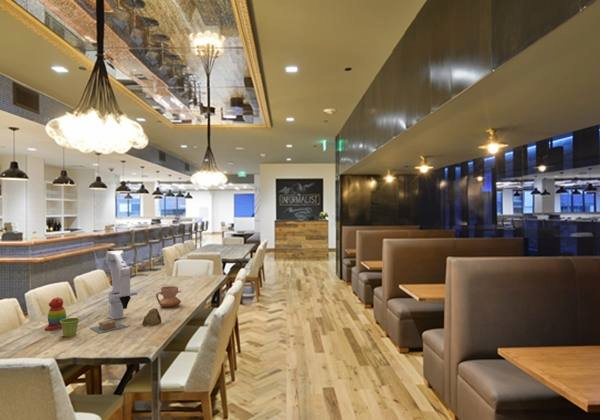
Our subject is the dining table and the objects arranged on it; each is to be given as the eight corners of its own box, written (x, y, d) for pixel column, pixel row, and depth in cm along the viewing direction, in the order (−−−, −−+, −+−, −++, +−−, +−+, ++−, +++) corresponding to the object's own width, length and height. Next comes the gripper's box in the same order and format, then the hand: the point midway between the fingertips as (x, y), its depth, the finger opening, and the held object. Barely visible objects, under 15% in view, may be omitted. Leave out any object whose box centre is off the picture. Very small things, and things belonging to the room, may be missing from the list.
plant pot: (75, 331, 215) (75, 316, 215) (82, 334, 209) (82, 319, 209) (57, 335, 208) (57, 320, 208) (63, 339, 202) (63, 323, 202)
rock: (137, 322, 225) (153, 320, 224) (140, 309, 230) (156, 307, 229) (146, 328, 233) (161, 327, 232) (149, 315, 239) (164, 314, 238)
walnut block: (111, 325, 225) (98, 328, 220) (111, 319, 225) (98, 322, 220) (115, 327, 221) (102, 330, 216) (115, 321, 221) (102, 324, 216)
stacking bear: (48, 325, 226) (49, 296, 226) (68, 323, 229) (68, 295, 229) (43, 331, 216) (43, 300, 216) (63, 329, 219) (63, 299, 219)
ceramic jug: (183, 303, 280) (183, 284, 280) (179, 308, 266) (179, 288, 266) (158, 304, 278) (158, 285, 278) (153, 309, 263) (153, 289, 264)
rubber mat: (89, 328, 220) (89, 327, 220) (117, 322, 233) (117, 321, 233) (99, 333, 211) (99, 332, 211) (127, 326, 224) (127, 326, 224)
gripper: (115, 289, 222) (115, 312, 222) (139, 285, 233) (139, 307, 233) (110, 287, 227) (110, 309, 227) (134, 284, 238) (134, 305, 238)
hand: (124, 308), depth 230 cm, fingers closed
